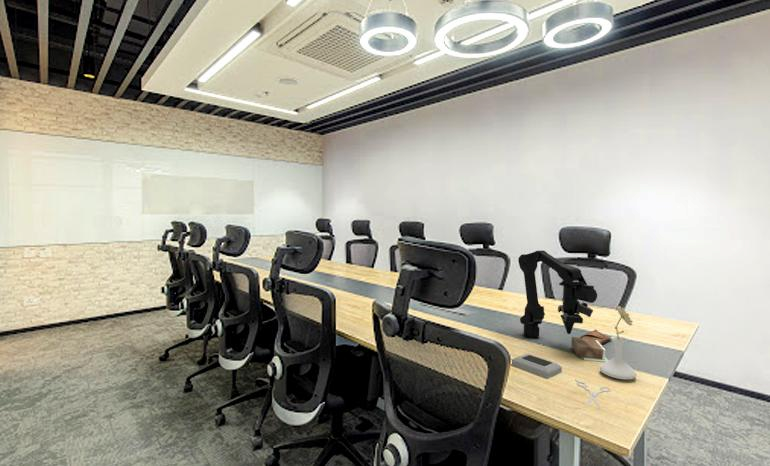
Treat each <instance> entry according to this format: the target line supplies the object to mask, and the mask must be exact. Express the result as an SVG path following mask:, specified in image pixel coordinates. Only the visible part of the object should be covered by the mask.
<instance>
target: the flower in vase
mask: <svg viewBox="0 0 770 466" xmlns="http://www.w3.org/2000/svg"><path fill="white" fill-rule="evenodd" d="M616 310H617V312H618V314H619V316H620V318H619V319H618V321H617V323H616V325H614V329H615V330H616V335H612V336H610V338H611V340H612V342H613V346H614V355H613V357H612V358H610V359H608V361H606V362H602V363H601V364H600V365H599V368H598V369H599V370H600V371H601V373H603V374H604V375H606V376H608V377H611V378H613V379H614V378H615V379H617V380H633V379H635V378H636V377H637V372H636V371H635V369H634V368H632V366H631V365H629V364H628V363H627V362H626V361H625V360H624V359H623V348H624V344H625V343H626V342H627V341H628V339H627V338H625V337H623V336H619V335H620V334H622V333H625V331H624V330H622V331H619V330H618V325H619V323H620V321H621V320H623V321H624V322H625V323H626V324H627V325H628V326H629V327H630V326H631V327H632V326H634V324H633V320H632V319H631V317H630V315H629V313H627V311H626V310H625V308H624V307H621V306H620V305H619V306H616Z"/></svg>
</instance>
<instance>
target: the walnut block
mask: <svg viewBox="0 0 770 466" xmlns="http://www.w3.org/2000/svg"><path fill="white" fill-rule="evenodd" d="M570 342H571V344H570V346H571V348H572V349H573V351H574V352H575V355H577V356H579V357H580V356H584V357H591V358H597V359H603V360H605V357H606V351H607V350H606V349H605V348H604V347H603V344H602V345H601V344H600V343H599V342H598V341H597V340H591V339H584V338H580V337H577V336H571V340H570Z"/></svg>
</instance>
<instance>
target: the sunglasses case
mask: <svg viewBox="0 0 770 466" xmlns="http://www.w3.org/2000/svg"><path fill="white" fill-rule="evenodd" d="M579 338H584V339H591V340H597V341H598V342H599V343H600V344H601V345H602V346H603V345H604V344H606V343H608V342H610V341H611V340H612V339H611V337H609V336H607V335H605V334H603V333H601V332H600V331H598V330H597V329H594V330H592V331H590V332H588V333H586V334H584V335H581V336H580V337H579Z"/></svg>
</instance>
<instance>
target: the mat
mask: <svg viewBox="0 0 770 466" xmlns="http://www.w3.org/2000/svg"><path fill="white" fill-rule="evenodd" d="M579 358H580V359H581V360H582V361H589V362H600V363H604V362H606V361H608V360H609V359H608V357H606V356H605V360H603V359H597V358H591V357H584V356H579Z"/></svg>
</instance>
